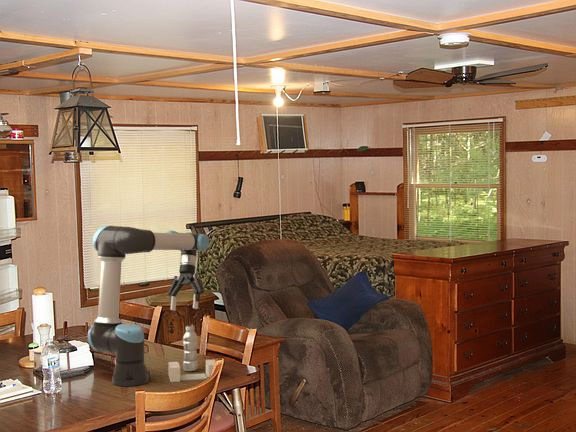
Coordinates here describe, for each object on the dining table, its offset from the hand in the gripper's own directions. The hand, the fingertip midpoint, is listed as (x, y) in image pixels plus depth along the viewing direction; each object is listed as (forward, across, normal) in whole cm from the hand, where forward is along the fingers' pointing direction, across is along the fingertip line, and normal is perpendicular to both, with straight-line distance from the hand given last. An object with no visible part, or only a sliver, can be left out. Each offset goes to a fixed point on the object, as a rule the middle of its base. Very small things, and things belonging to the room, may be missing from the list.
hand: (184, 309), depth 362 cm
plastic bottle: (+30, -13, +8) cm, 33 cm away
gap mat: (+33, -21, +15) cm, 42 cm away
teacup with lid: (+32, +43, +41) cm, 67 cm away
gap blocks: (+33, -21, +15) cm, 42 cm away
